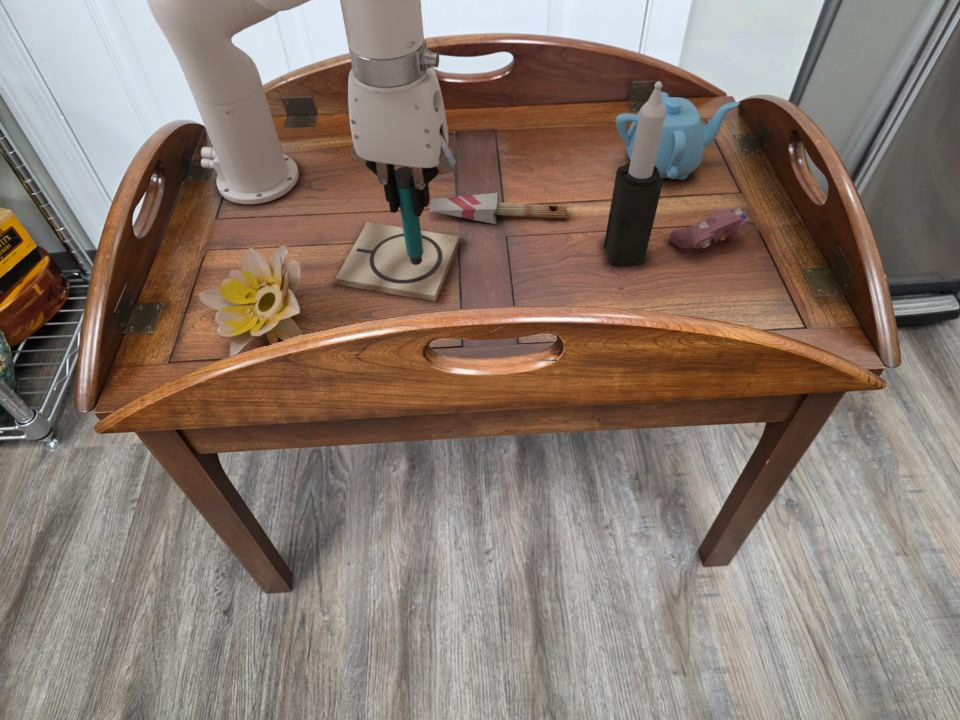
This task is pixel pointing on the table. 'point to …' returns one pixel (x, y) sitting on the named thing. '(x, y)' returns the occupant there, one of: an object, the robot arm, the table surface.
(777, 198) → the table surface
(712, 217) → the purple toy car
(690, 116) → the teapot
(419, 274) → the sketch board
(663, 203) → the table surface
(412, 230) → the marker
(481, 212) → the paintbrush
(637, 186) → the candle
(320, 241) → the table surface
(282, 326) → the decorative flower
